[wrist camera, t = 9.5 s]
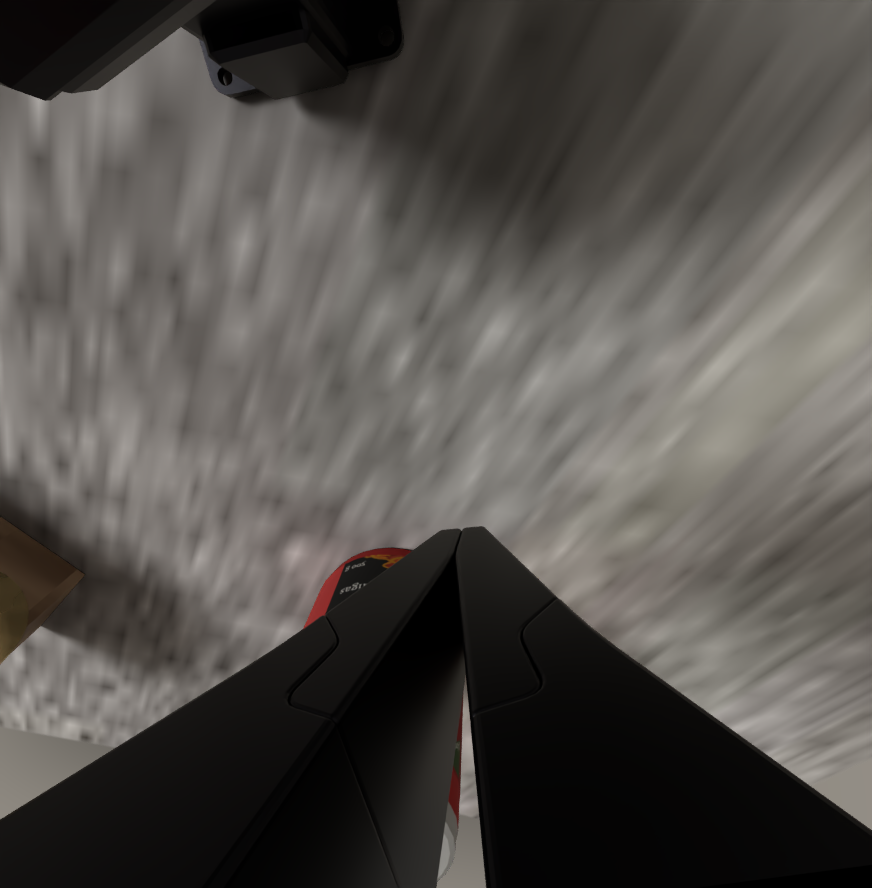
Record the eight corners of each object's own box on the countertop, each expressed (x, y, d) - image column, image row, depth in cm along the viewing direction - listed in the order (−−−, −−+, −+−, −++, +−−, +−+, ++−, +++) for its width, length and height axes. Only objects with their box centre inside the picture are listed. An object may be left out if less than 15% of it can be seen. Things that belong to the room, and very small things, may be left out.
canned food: (493, 582, 24) (503, 830, 14) (422, 674, 28) (389, 928, 18) (359, 516, 23) (268, 734, 13) (301, 620, 27) (194, 857, 17)
